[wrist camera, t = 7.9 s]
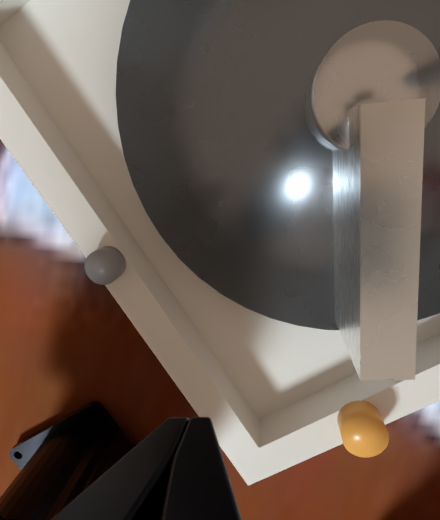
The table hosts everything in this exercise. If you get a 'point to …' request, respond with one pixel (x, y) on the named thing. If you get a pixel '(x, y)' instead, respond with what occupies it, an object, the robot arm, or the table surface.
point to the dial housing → (172, 268)
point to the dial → (294, 158)
